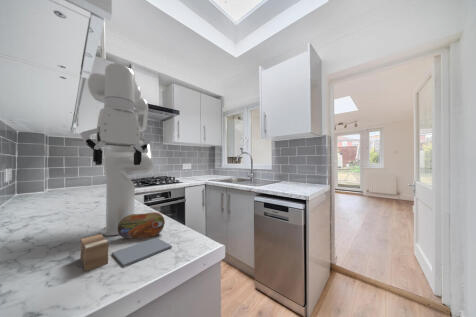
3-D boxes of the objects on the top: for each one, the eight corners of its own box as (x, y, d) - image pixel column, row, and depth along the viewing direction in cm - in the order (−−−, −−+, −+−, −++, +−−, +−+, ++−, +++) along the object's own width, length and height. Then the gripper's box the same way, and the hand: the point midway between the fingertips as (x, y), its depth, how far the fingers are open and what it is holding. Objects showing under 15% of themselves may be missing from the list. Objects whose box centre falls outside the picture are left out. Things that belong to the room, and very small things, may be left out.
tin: (117, 240, 59) (117, 216, 59) (120, 237, 62) (121, 213, 62) (164, 235, 63) (164, 212, 63) (165, 232, 66) (165, 210, 66)
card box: (80, 258, 47) (80, 238, 48) (100, 252, 51) (101, 233, 51) (85, 271, 42) (85, 248, 42) (107, 263, 45) (108, 241, 45)
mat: (111, 254, 49) (111, 252, 49) (156, 239, 59) (156, 237, 59) (123, 267, 43) (123, 264, 43) (171, 247, 53) (171, 245, 53)
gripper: (144, 117, 60) (144, 165, 59) (78, 102, 46) (76, 165, 45) (154, 112, 56) (154, 164, 55) (85, 95, 42) (83, 164, 41)
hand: (119, 164), depth 50 cm, fingers open, 9 cm apart
